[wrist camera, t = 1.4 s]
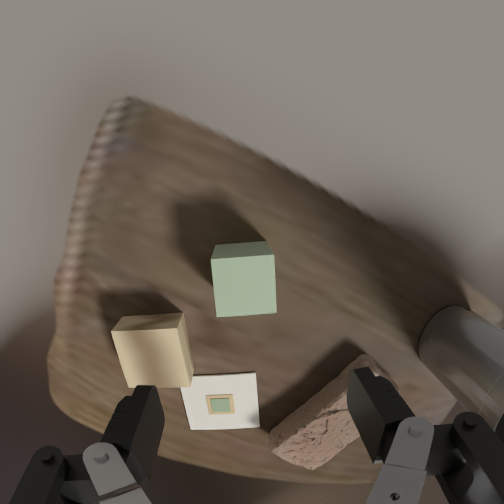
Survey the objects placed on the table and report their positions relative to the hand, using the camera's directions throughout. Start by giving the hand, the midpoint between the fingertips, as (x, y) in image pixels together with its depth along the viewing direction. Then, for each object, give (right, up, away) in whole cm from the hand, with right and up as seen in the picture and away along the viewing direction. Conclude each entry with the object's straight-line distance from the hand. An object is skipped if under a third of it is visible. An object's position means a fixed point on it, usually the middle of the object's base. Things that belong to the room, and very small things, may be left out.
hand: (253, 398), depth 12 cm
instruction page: (-4, -13, +23) cm, 26 cm away
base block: (-10, -4, +21) cm, 24 cm away
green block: (-1, +4, +19) cm, 20 cm away
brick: (+10, -14, +25) cm, 30 cm away
